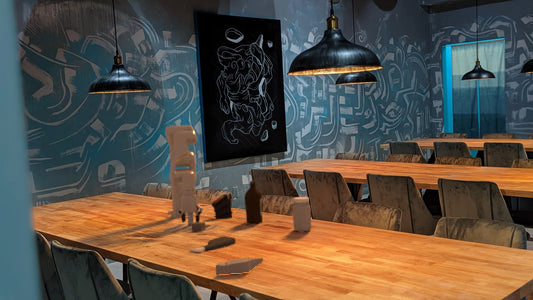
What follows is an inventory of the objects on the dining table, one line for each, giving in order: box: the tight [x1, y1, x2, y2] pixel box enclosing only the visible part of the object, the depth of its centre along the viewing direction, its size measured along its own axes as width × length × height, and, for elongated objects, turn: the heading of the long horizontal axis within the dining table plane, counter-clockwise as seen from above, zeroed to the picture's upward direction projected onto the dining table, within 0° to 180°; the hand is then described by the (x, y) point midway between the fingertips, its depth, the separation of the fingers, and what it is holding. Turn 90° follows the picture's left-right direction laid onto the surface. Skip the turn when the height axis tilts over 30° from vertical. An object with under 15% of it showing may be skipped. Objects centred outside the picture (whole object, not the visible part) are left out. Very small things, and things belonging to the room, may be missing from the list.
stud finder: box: [192, 221, 206, 231], centre depth 310 cm, size 6×5×5 cm
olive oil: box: [244, 180, 263, 225], centre depth 330 cm, size 11×11×25 cm
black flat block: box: [211, 194, 233, 220], centre depth 347 cm, size 4×13×15 cm, turn 129°
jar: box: [292, 196, 312, 232], centre depth 302 cm, size 10×10×18 cm
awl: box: [187, 212, 195, 226], centre depth 324 cm, size 3×3×8 cm
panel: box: [162, 223, 221, 236], centre depth 316 cm, size 28×20×1 cm
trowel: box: [215, 257, 264, 276], centre depth 234 cm, size 28×16×5 cm, turn 139°
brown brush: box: [189, 236, 236, 253], centre depth 274 cm, size 3×11×25 cm
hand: (190, 221), depth 324 cm, fingers open, 8 cm apart
